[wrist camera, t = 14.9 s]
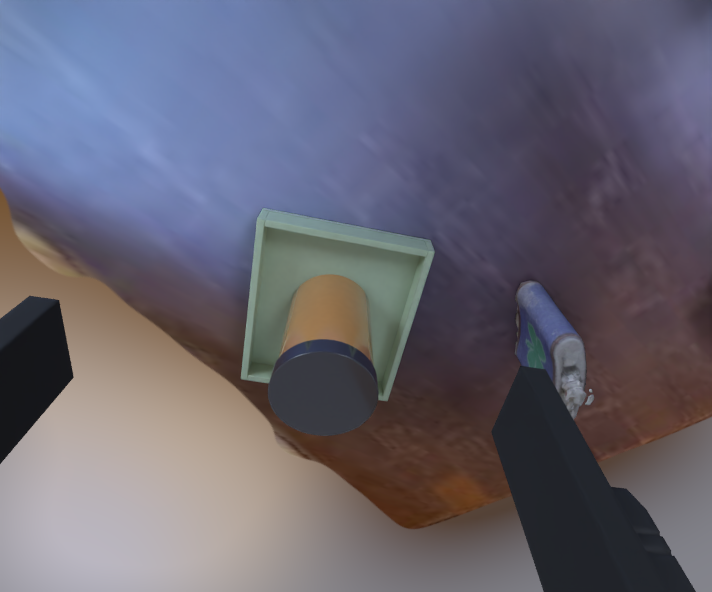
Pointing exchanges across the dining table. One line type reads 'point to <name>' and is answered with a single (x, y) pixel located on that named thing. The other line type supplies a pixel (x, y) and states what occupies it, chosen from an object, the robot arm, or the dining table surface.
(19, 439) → the robot arm
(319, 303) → the jar
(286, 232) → the serving tray
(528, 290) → the flask
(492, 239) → the dining table surface
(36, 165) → the dining table surface
